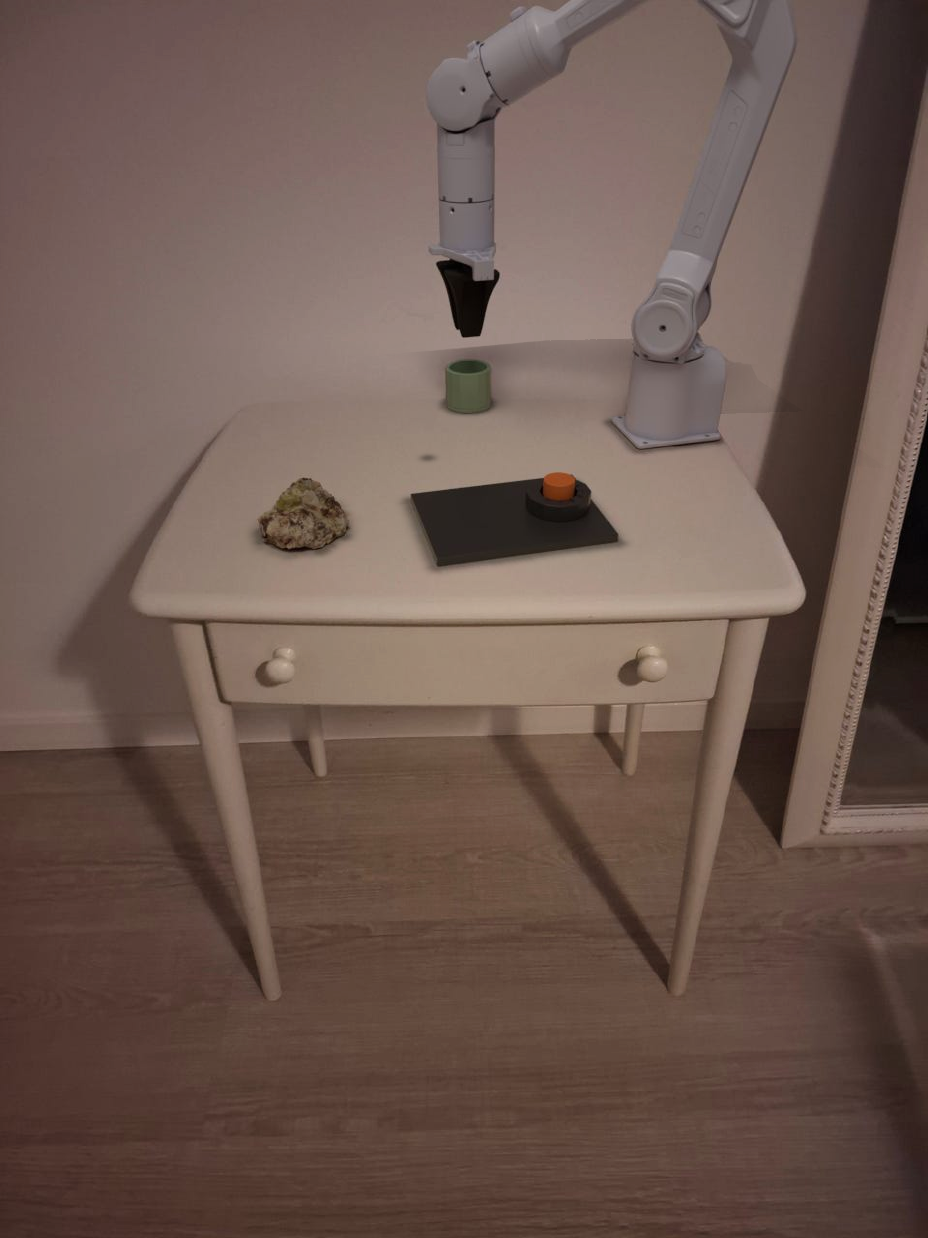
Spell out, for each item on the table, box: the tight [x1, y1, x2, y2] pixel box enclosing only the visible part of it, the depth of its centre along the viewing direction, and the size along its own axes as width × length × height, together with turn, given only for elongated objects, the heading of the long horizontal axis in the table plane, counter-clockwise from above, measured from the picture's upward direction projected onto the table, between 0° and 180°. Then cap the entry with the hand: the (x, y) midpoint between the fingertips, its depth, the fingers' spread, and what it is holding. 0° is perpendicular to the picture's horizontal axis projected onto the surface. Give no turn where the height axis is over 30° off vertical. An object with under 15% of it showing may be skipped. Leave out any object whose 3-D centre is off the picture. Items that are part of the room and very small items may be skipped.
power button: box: [543, 471, 576, 500], centre depth 78 cm, size 3×3×2 cm
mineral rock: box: [256, 477, 350, 550], centre depth 78 cm, size 11×4×8 cm
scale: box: [410, 473, 619, 568], centre depth 78 cm, size 16×12×2 cm
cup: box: [444, 358, 492, 414], centre depth 100 cm, size 5×5×4 cm
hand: (467, 332), depth 96 cm, fingers closed
